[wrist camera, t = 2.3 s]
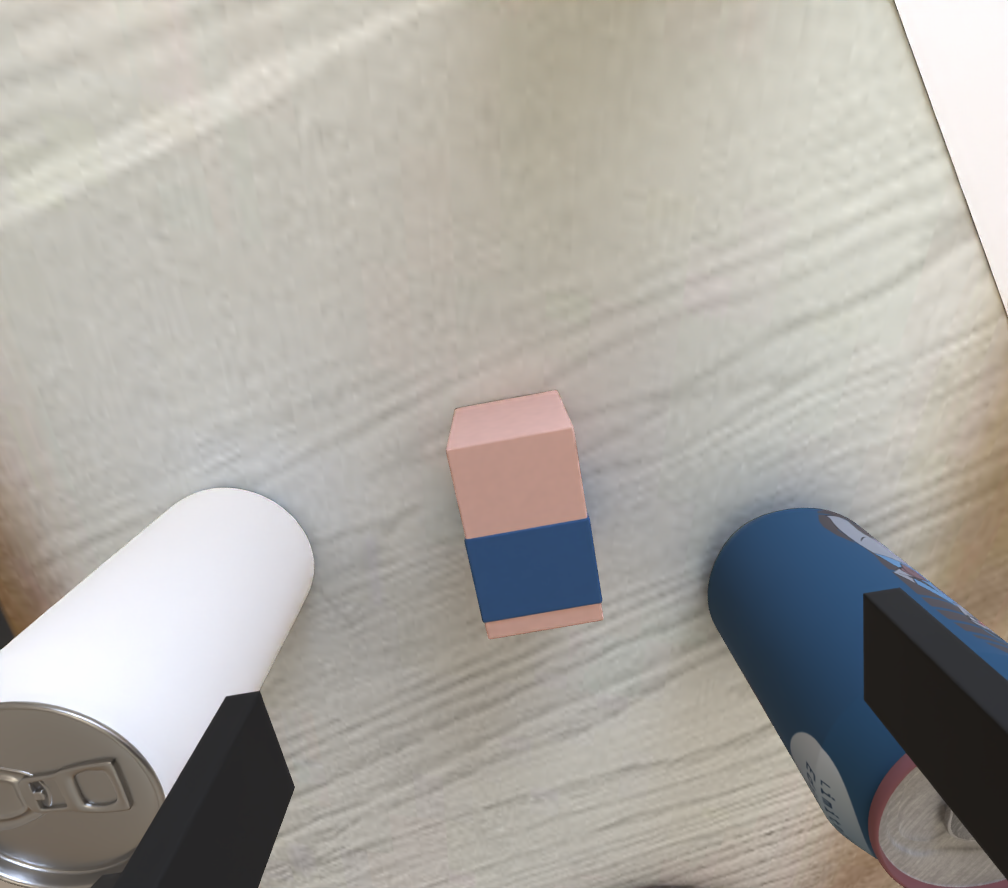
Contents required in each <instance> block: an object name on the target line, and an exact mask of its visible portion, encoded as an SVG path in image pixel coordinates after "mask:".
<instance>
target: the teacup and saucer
mask: <svg viewBox="0 0 1008 888" xmlns="http://www.w3.org/2000/svg"><path fill="white" fill-rule="evenodd" d="M894 1H895V4H896V6H897V9H898V12H899V15H900V18H901V20H902V23H903V26H904V29H905V31H906V34H907V37H908V40H909V43H910V45H911V48H912V51H913V54H914V56H915V59H916V62H917V65H918V68H919V70H920V73H921V76H922V79H923V81H924V84H925V87H926V90H927V93H928V95H929V98H930V101H931V104H932V106H933V109H934V112H935V115H936V118H937V120H938V123H939V126H940V129H941V131H942V134H943V137H944V140H945V143H946V145H947V148H948V151H949V154H950V156H951V159H952V162H953V165H954V168H955V170H956V173H957V176H958V179H959V181H960V184H961V187H962V190H963V193H964V195H965V198H966V201H967V204H968V206H969V209H970V212H971V215H972V218H973V220H974V223H975V226H976V229H977V231H978V234H979V237H980V240H981V243H982V245H983V248H984V251H985V254H986V256H987V259H988V262H989V265H990V268H991V270H992V273H993V276H994V279H995V281H996V284H997V287H998V290H999V293H1000V295H1001V298H1002V301H1003V304H1004V306H1005V309H1006V312H1007V315H1008V0H894Z"/></svg>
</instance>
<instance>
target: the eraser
mask: <svg viewBox="0 0 1008 888" xmlns="http://www.w3.org/2000/svg"><path fill="white" fill-rule="evenodd" d="M446 454H447V458H448V462H449V467H450V471H451V476H452V480H453V485H454V489H455V494H456V498H457V502H458V507H459V511H460V516H461V520H462V525H463V529H464V534H465V546H466V550H467V554H468V559H469V563H470V568H471V572H472V577H473V581H474V585H475V590H476V594H477V599H478V603H479V607H480V612H481V616H482V621H483V622H484V623H485V627H486V631H487V636H488V638H489V639H495V638H501V637H507V636H512V635H518V634H524V633H530V632H536V631H542V630H548V629H554V628H560V627H566V626H571V625H577V624H583V623H589V622H595V621H601V620H603V611H602V605H601V602H602V595H601V588H600V582H599V576H598V569H597V563H596V556H595V550H594V544H593V537H592V531H591V524H590V519H589V516H588V513H587V509H586V503H585V497H584V490H583V484H582V478H581V471H580V465H579V459H578V452H577V446H576V439H575V433H574V427H573V425H572V423H571V421H570V418H569V416H568V414H567V411H566V409H565V407H564V404H563V402H562V400H561V398H560V395H559V393H558V391H557V390H553V391H548V392H542V393H537V394H532V395H526V396H521V397H515V398H510V399H504V400H499V401H494V402H488V403H483V404H477V405H472V406H466V407H461V408H456V409H455V411H454V416H453V420H452V425H451V430H450V434H449V439H448V444H447V448H446Z"/></svg>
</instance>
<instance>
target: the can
mask: <svg viewBox="0 0 1008 888" xmlns="http://www.w3.org/2000/svg"><path fill="white" fill-rule="evenodd" d="M313 576H314V557H313V552H312V549H311V545H310V543H309V540H308V538H307V536H306V534H305V532H304V531H303V529H302V528H301V526H300V525H299V524H298V522H297V521H296V520H295V519H294V518H293V517H292V516H291V515H290V514H289V513H288V512H287V511H286V510H285V509H284V508H282V507H281V506H280V505H278V504H277V503H275V502H273V501H272V500H270V499H268V498H266V497H264V496H262V495H259V494H256V493H254V492H250V491H247V490H242V489H236V488H213V489H207V490H203V491H199V492H196V493H194V494H191V495H189V496H187V497H185V498H184V499H182V500H180V501H179V502H177V503H176V504H175V505H173V506H172V507H171V508H170V509H168V510H167V511H166V512H165V513H163V514H162V515H161V516H160V517H158V518H157V519H156V520H155V521H154V522H152V523H151V524H150V525H149V526H147V527H146V528H145V529H144V530H143V531H141V532H140V533H139V534H138V535H137V536H135V537H134V538H133V539H132V540H131V541H129V542H128V543H127V544H126V545H125V546H123V547H122V548H121V549H120V550H119V551H117V552H116V553H115V554H114V555H113V556H111V557H110V558H109V559H108V560H107V561H106V562H104V563H103V564H102V565H101V566H100V567H98V568H97V569H96V570H95V571H94V572H92V573H91V574H90V575H89V576H88V577H86V578H85V579H84V580H83V581H82V582H80V583H79V584H78V585H77V586H76V587H75V588H73V589H72V590H71V591H70V592H69V593H67V594H66V595H65V596H64V597H63V598H61V599H60V600H59V601H58V602H57V603H56V604H54V605H53V606H52V607H51V608H50V609H48V610H47V611H46V612H45V613H44V614H43V615H41V616H40V617H39V618H38V619H37V620H35V621H34V622H33V623H32V624H31V625H30V626H28V627H27V628H26V629H25V630H24V631H22V632H21V633H20V634H19V635H18V636H17V637H15V638H14V639H13V640H12V641H11V642H10V643H8V644H7V645H6V646H5V647H4V648H3V649H1V650H0V880H2V881H5V882H8V883H10V884H14V885H17V886H21V887H25V888H90V887H91V886H92V885H93V884H94V883H95V882H96V881H97V880H98V879H99V878H100V877H101V876H102V875H106V874H113V873H119V872H122V871H123V870H124V868H125V866H126V865H127V863H128V861H129V860H130V858H131V856H132V855H133V853H134V851H135V849H136V848H137V846H138V844H139V843H140V841H141V839H142V838H143V836H144V834H145V833H146V831H147V829H148V827H149V826H150V824H151V822H152V821H153V819H154V817H155V816H156V814H157V812H158V811H159V809H160V807H161V805H162V804H163V802H164V800H165V799H166V797H167V795H168V794H169V792H170V790H171V789H172V787H173V785H174V783H175V782H176V780H177V778H178V777H179V775H180V773H181V772H182V770H183V768H184V766H185V765H186V763H187V761H188V760H189V758H190V756H191V755H192V753H193V751H194V750H195V748H196V746H197V744H198V743H199V741H200V739H201V738H202V736H203V734H204V733H205V731H206V729H207V728H208V726H209V724H210V722H211V721H212V719H213V717H214V716H215V714H216V712H217V711H218V709H219V707H220V706H221V704H222V702H223V700H224V699H225V697H226V696H231V695H237V694H243V693H249V692H255V691H259V690H260V688H261V686H262V684H263V682H264V680H265V678H266V676H267V674H268V672H269V670H270V668H271V666H272V665H273V663H274V661H275V659H276V657H277V655H278V653H279V651H280V649H281V647H282V645H283V643H284V641H285V639H286V637H287V635H288V633H289V631H290V629H291V627H292V625H293V623H294V621H295V619H296V617H297V616H298V613H299V611H300V609H301V607H302V605H303V603H304V601H305V599H306V597H307V595H308V593H309V590H310V588H311V585H312V581H313Z"/></svg>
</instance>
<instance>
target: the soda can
mask: <svg viewBox="0 0 1008 888" xmlns="http://www.w3.org/2000/svg"><path fill="white" fill-rule="evenodd" d="M899 587H900V588H901V589H902V590H904V591H905V592H906V593H907V594H908V595H909V596H911V597H912V598H913V599H914V600H915V601H916V602H917V603H919V604H920V605H921V606H922V607H923V608H924V609H926V610H927V611H928V612H929V613H930V614H931V615H932V616H934V617H935V618H936V619H937V620H938V621H939V622H941V623H942V624H943V625H944V626H945V627H946V628H947V629H949V630H950V631H951V632H952V633H953V634H954V635H956V636H957V637H958V638H959V639H960V640H961V641H962V642H964V643H965V644H966V645H967V646H968V647H969V648H971V649H972V650H973V651H974V652H975V653H976V654H977V655H979V656H980V657H981V658H982V659H983V660H984V661H986V662H987V663H988V664H989V665H990V666H991V667H992V668H994V669H995V670H996V671H997V672H998V673H999V674H1001V675H1002V676H1003V677H1004V678H1005V679H1006V680H1007V681H1008V643H1007V642H1005V641H1004V640H1003V639H1002V638H1000V637H999V636H998V635H997V634H995V633H994V632H993V631H992V630H990V629H989V628H988V627H986V626H985V625H984V624H983V623H981V622H980V621H979V620H978V619H976V618H975V617H974V616H973V615H971V614H970V613H969V612H967V611H966V610H965V609H964V608H962V607H961V606H960V605H959V604H957V603H956V602H955V601H954V600H952V599H951V598H950V597H948V596H947V595H946V594H945V593H943V592H942V591H941V590H940V589H938V588H937V587H936V586H935V585H933V584H932V583H931V582H929V581H928V580H927V579H926V578H924V577H923V576H922V575H921V574H919V573H918V572H917V571H916V570H914V569H913V568H912V567H910V566H909V565H908V564H907V563H905V562H904V561H903V560H902V559H900V558H899V557H898V556H897V555H895V554H894V553H893V552H891V551H890V550H889V549H888V548H886V547H885V546H884V545H883V544H881V543H880V542H879V541H878V540H876V539H875V538H874V537H872V536H871V535H870V534H869V533H867V532H866V531H865V530H864V529H862V528H861V527H860V526H859V525H857V524H856V523H855V522H853V521H851V520H850V519H848V518H846V517H844V516H842V515H840V514H837V513H834V512H831V511H827V510H822V509H815V508H794V509H787V510H781V511H777V512H773V513H769V514H766V515H763V516H760V517H758V518H756V519H754V520H752V521H750V522H748V523H747V524H745V525H744V526H742V527H741V528H740V529H738V530H737V531H736V532H735V533H734V534H733V535H732V536H731V537H730V538H729V539H728V541H727V542H726V543H725V545H724V546H723V548H722V550H721V551H720V553H719V555H718V557H717V559H716V561H715V563H714V566H713V568H712V571H711V575H710V579H709V584H708V606H709V611H710V614H711V617H712V620H713V622H714V624H715V626H716V628H717V630H718V631H719V633H720V635H721V637H722V638H723V640H724V642H725V644H726V645H727V647H728V649H729V650H730V652H731V654H732V656H733V657H734V659H735V661H736V662H737V664H738V666H739V668H740V669H741V671H742V673H743V674H744V676H745V678H746V680H747V681H748V683H749V685H750V687H751V688H752V690H753V692H754V693H755V695H756V697H757V699H758V700H759V702H760V704H761V705H762V707H763V709H764V711H765V712H766V714H767V716H768V718H769V719H770V721H771V723H772V724H773V726H774V728H775V730H776V731H777V733H778V735H779V736H780V738H781V740H782V742H783V743H784V745H785V747H786V749H787V750H788V752H789V754H790V755H791V757H792V759H793V761H794V762H795V764H796V766H797V767H798V769H799V771H800V773H801V774H802V776H803V778H804V779H805V781H806V783H807V785H808V786H809V788H810V790H811V792H812V793H813V795H814V797H815V798H816V800H817V802H818V804H819V805H820V807H821V809H822V810H823V812H824V814H825V815H826V817H827V819H828V820H829V821H830V823H831V824H832V825H833V826H834V827H835V828H836V829H837V830H838V831H839V832H840V833H841V834H842V835H843V836H845V837H846V838H847V839H848V840H850V841H851V842H853V843H854V844H855V845H857V846H858V847H860V848H861V849H863V850H864V851H866V852H867V853H869V854H870V855H872V856H873V857H875V858H876V859H878V860H879V862H880V864H881V865H882V867H883V868H884V869H885V871H886V872H887V873H888V874H889V875H890V876H891V877H892V878H893V879H894V880H895V881H896V882H897V883H899V884H900V885H901V886H903V887H904V888H1008V881H1007V879H1006V878H1005V877H1004V876H1003V874H1002V873H1001V872H1000V871H999V869H998V868H997V867H996V866H995V864H994V863H993V862H992V860H991V859H990V858H989V857H988V855H987V854H986V853H985V852H984V850H983V849H982V848H981V847H980V845H979V844H978V843H977V842H976V840H975V839H974V838H973V837H972V835H971V834H970V833H969V832H968V830H967V829H966V828H965V827H964V825H963V824H962V823H961V821H960V820H959V819H958V818H957V816H956V815H955V814H954V813H953V811H952V810H951V809H950V808H949V806H948V805H947V804H946V803H945V801H944V800H943V799H942V798H941V796H940V795H939V794H938V793H937V791H936V790H935V789H934V788H933V786H932V785H931V784H930V782H929V781H928V780H927V779H926V777H925V776H924V775H923V774H922V772H921V771H920V770H919V769H918V767H917V766H916V765H915V764H914V762H913V761H912V760H911V759H910V757H909V756H908V755H907V754H906V752H905V751H904V750H903V748H902V747H901V746H900V745H899V743H898V742H897V741H896V740H895V738H894V737H893V736H892V735H891V733H890V732H889V731H888V730H887V728H886V727H885V726H884V725H883V723H882V722H881V721H880V720H879V718H878V717H877V716H876V715H875V713H874V712H873V711H872V709H871V708H870V707H869V706H868V704H867V703H866V702H865V701H864V653H863V593H869V592H875V591H881V590H887V589H893V588H899Z"/></svg>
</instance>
